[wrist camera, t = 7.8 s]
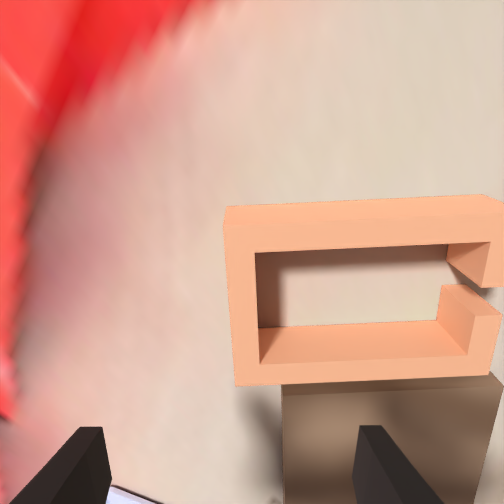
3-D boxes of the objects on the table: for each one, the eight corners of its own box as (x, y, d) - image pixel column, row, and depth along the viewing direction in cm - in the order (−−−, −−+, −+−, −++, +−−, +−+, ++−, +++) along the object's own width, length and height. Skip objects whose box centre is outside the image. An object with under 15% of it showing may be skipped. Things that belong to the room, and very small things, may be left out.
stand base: (448, 547, 27) (456, 566, 26) (284, 554, 27) (286, 574, 26) (490, 371, 21) (503, 386, 20) (281, 380, 21) (282, 395, 20)
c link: (482, 194, 17) (527, 211, 15) (455, 337, 20) (488, 375, 18) (226, 206, 17) (222, 225, 15) (236, 347, 20) (235, 386, 18)
